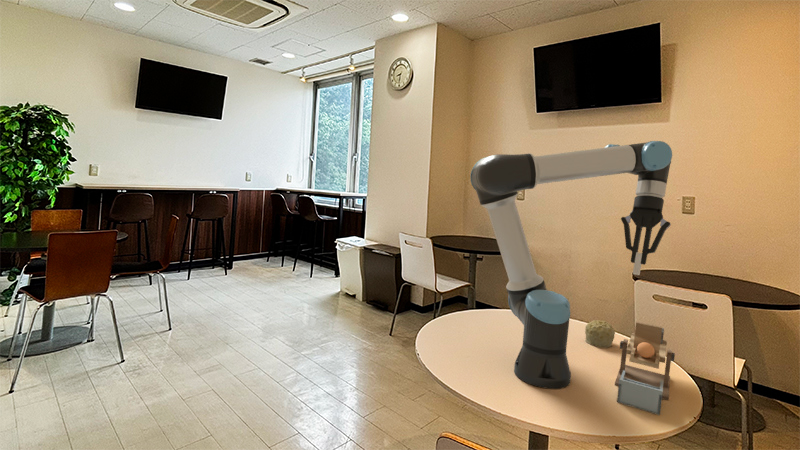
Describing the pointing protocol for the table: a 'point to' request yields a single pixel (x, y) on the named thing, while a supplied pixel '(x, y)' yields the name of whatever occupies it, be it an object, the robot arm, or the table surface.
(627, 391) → the blue open box
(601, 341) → the decorative item
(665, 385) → the catapult stand
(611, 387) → the table surface
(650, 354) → the ball
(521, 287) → the robot arm
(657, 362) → the lever
